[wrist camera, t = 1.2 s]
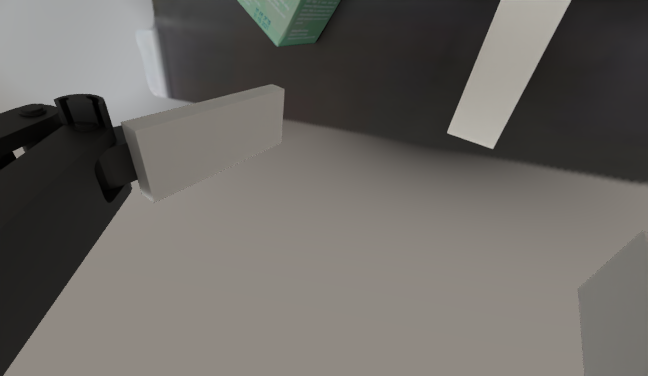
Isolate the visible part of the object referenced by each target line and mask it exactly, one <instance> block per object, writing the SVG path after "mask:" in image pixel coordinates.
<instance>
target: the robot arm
mask: <svg viewBox="0 0 648 376" xmlns="http://www.w3.org/2000/svg"><path fill="white" fill-rule="evenodd" d="M54 102H55V104H56V106H57V107H54V106H51V105H44V104H30V105H25V106H22V107H19V108H15V109H12V110H9V111H6V112H4V113H0V376H3V375H4V373H5V372H6V371H7V369H8V368H9V366H10V365H11V363H12V362H13V361H14V359H15V358H16V356H17V355H18V353H19V352H20V350H21V349H22V348H23V346H24V345H25V343H26V342H27V340H28V339H29V338H30V336H31V335H32V333H33V332H34V330H35V329H36V328H37V326H38V325H39V323H40V322H41V320H42V319H43V318H44V316H45V315H46V313H47V312H48V310H49V309H50V308H51V306H52V305H53V303H54V302H55V300H56V299H57V297H58V296H59V295H60V293H61V292H62V290H63V289H64V287H65V286H66V285H67V283H68V281H69V280H70V279H71V277H72V276H73V274H74V273H75V271H76V270H77V269H78V267H79V266H80V264H81V263H82V262H83V260H84V259H85V257H86V256H87V254H88V253H89V251H90V250H91V249H92V247H93V246H94V244H95V243H96V242H97V240H98V239H99V237H100V236H101V234H102V233H103V231H104V230H105V229H106V227H107V226H108V224H109V223H110V221H111V220H112V218H113V217H114V216H115V214H116V213H117V211H118V210H119V209H120V207H121V206H122V204H123V203H124V201H125V200H126V198H127V197H128V195H129V194H130V193H131V190H132V187H131V183H130V182H133V181H135V180H138V183H139V186H140V189H141V193H142V194H143V195H144V196H146V197H147V198H148V199H150V200H151V201H152V202H154V203H155V202H157V201H160V200H161V199H164V198H166V197H168V196H170V195H172V194H174V193H176V192H178V191H181V190H183V189H185V188H187V187H189V186H191V185H193V184H195V183H197V182H199V181H202V180H204V179H206V178H208V177H210V176H212V175H214V174H217V173H219V172H221V171H223V170H225V169H227V168H229V167H231V166H233V165H235V164H238V163H240V162H242V161H244V160H246V159H248V158H250V157H252V156H254V155H257V154H259V153H261V152H263V151H265V150H267V149H269V148H271V147H273V146H276V145H278V144H280V143H281V139H282V122H283V105H284V89H283V88H281V87H278V86H275V85H273V84H270V85H266V86H262V87H258V88H255V89H251V90H247V91H243V92H239V93H235V94H231V95H227V96H223V97H219V98H215V99H211V100H207V101H203V102H199V103H195V104H191V105H187V106H183V107H179V108H175V109H171V110H168V111H164V112H159V113H156V114H151V115H147V116H144V117H140V118H136V119H132V120H128V121H124V122H121V126H117V127H113V126H112V123H111V120H110V116H109V113H108V110H107V107H106V104H105V101H104V99H103V98H102V97H99V96H97V95H92V94H74V95H67V96H62V97H59V98H56V99H54ZM20 147H23V149H24V151H25V153H24V154H23V155H21V156H20V157H18V158H17V159H16V157H15V155H14V153H13V152H12V151H14V150H16V149H18V148H20ZM578 298H579V311H580V323H581V337H582V350H583V365H584V376H648V232H645V231H643V230H642V231H641V232H640V233H639V234H638V235H637V236H636V237H635V238H634V239H632V240H631V241H630V242H629V243H628V244H627V245H626V246H625V247H623V248H622V249H621V250H620V251H619V252H618V253H617V254H616V255H615V256H614V257H612V258H611V259H610V260H609V261H608V262H607V263H606V264H605V265H604V266H603V267H601V268H600V269H599V270H598V271H597V272H596V273H595V274H594V275H593V276H592V277H590V278H589V279H588V280H587V281H586V282H585V283H584V284H583V285H581V286H580V287H579V288H578Z"/></svg>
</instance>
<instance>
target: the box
mask: <svg viewBox="0 0 648 376" xmlns="http://www.w3.org/2000/svg"><path fill="white" fill-rule="evenodd" d="M237 1H238V2H239V3H240V4H241V5H242V6H243V8H244V9H245V10H246V11H247V12H248V13H249V15H250V16H251V17H252V18H253V19H254V21H255V22H256V23H257V24H258V25H259V26H260V28H261V29H262V30H263V31H264V32H265V33H266V35H267V36H268V37H269V38H270V39H271V41H272V42H273V43H274V44H275V45H276V46H277V47H279V46H290V45H301V44H312V43H315V42H316V40H317V39H318V37H319V36H320V34H321V32H322V31H323V29H324V27H325V26H326V24H327V22H328V21H329V19H330V18H331V16H332V14H333V13H334V11H335V9H336V8H337V6H338V4H339V2H340V0H237Z"/></svg>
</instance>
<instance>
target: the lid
mask: <svg viewBox="0 0 648 376" xmlns="http://www.w3.org/2000/svg"><path fill="white" fill-rule="evenodd" d="M570 2H571V0H501V1H500V3H499V6H498V8H497V11H496V13H495V16H494V18H493V21H492V23H491V26H490V28H489V30H488V33H487V35H486V38H485V40H484V43H483V45H482V48H481V50H480V53H479V55H478V58H477V60H476V62H475V65H474V67H473V70H472V72H471V75H470V77H469V80H468V82H467V85H466V87H465V89H464V92H463V94H462V97H461V99H460V102H459V104H458V107H457V109H456V112H455V114H454V117H453V119H452V121H451V124H450V126H449V129H448V131H447V133H448V134H451V135H454V136H457V137H460V138H463V139H465V140H468V141H471V142H474V143H477V144H480V145H483V146H486V147H488V148H491V149H493V148H494V146H495V144H496V142H497V140H498V138H499V136H500V135H501V133H502V131H503V129H504V127H505V125H506V123H507V121H508V119H509V117H510V116H511V114H512V112H513V110H514V108H515V106H516V104H517V102H518V100H519V98H520V97H521V95H522V93H523V91H524V89H525V87H526V85H527V83H528V81H529V79H530V78H531V76H532V74H533V72H534V70H535V68H536V66H537V64H538V62H539V60H540V59H541V57H542V55H543V53H544V51H545V49H546V47H547V45H548V43H549V41H550V40H551V38H552V36H553V34H554V32H555V30H556V28H557V26H558V24H559V22H560V21H561V19H562V17H563V15H564V13H565V11H566V9H567V7H568V5H569V4H570Z"/></svg>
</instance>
